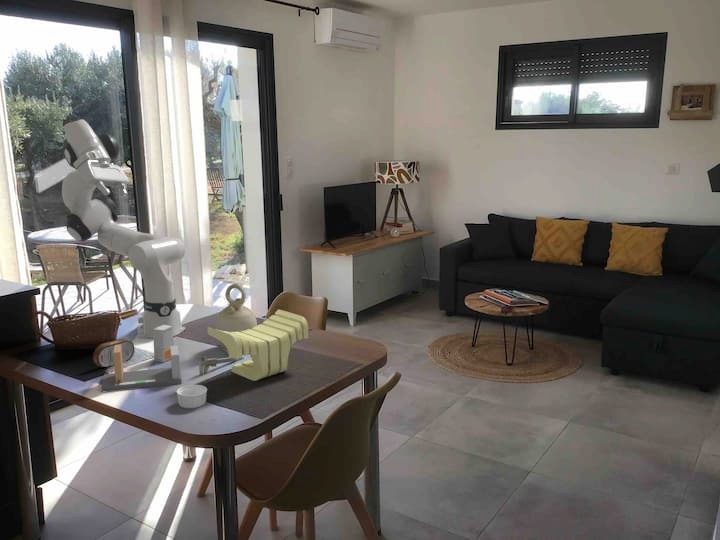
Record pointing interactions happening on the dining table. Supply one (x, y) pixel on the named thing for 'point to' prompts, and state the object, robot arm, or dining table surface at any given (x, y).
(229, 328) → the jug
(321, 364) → the dining table surface
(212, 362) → the caliper
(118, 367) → the paddle
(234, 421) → the dining table surface
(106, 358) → the tin
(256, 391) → the dining table surface
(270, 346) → the slatted curved stool
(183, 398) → the ramekin
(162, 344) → the skincare box
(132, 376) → the gauge board
